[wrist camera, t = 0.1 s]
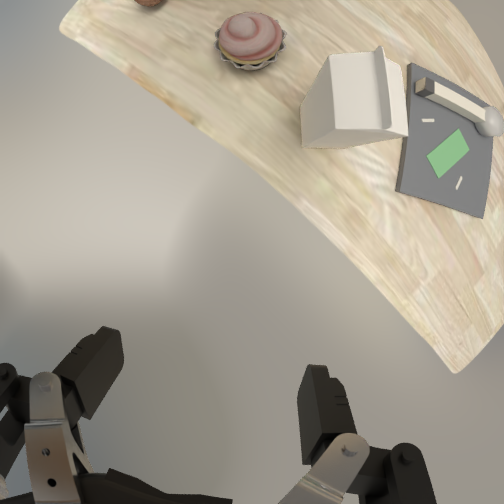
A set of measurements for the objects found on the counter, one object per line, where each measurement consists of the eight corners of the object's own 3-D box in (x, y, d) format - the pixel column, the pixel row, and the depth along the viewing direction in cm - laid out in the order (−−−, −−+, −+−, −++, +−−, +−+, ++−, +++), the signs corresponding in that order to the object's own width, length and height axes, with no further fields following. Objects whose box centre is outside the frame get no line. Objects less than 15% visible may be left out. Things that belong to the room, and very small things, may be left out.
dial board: (407, 65, 29) (412, 62, 28) (488, 108, 29) (493, 107, 28) (395, 191, 36) (400, 192, 34) (477, 217, 36) (483, 219, 34)
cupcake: (292, 74, 32) (300, 45, 22) (226, 86, 33) (212, 61, 23) (277, 23, 29) (279, -13, 20) (214, 35, 30) (199, 1, 21)
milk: (341, 108, 33) (421, 52, 12) (343, 149, 35) (432, 133, 14) (298, 106, 33) (338, 35, 12) (300, 148, 35) (348, 122, 14)
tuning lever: (491, 115, 28) (504, 113, 25) (491, 140, 29) (504, 140, 26) (415, 73, 28) (427, 67, 25) (414, 102, 30) (426, 97, 26)
